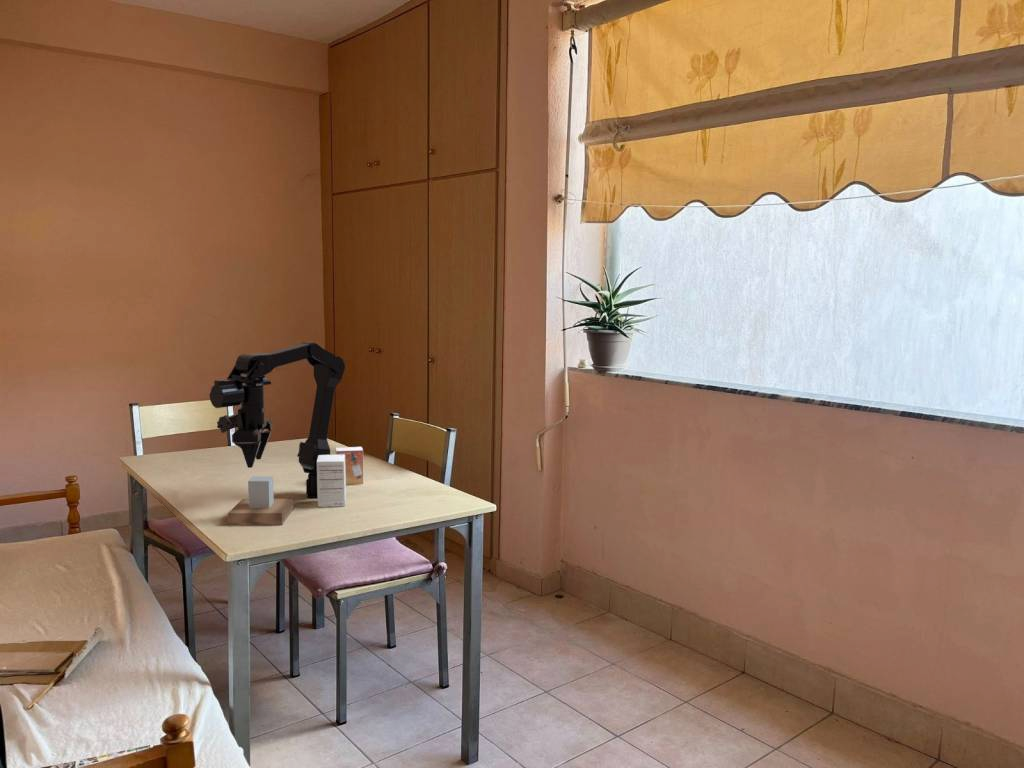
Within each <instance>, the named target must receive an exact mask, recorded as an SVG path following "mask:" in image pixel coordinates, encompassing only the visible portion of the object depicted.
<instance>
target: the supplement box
mask: <svg viewBox="0 0 1024 768" xmlns="http://www.w3.org/2000/svg"><path fill="white" fill-rule="evenodd" d="M317 496H318V498H317V507H318V508H331V507H332V508H333V507H335V508H337V507H345V506H346V502H347V485H346V474H345V455H342V454H338V455H335V454H330V455H318V458H317Z"/></svg>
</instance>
